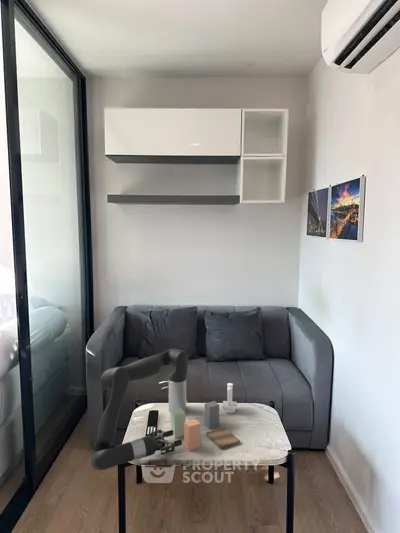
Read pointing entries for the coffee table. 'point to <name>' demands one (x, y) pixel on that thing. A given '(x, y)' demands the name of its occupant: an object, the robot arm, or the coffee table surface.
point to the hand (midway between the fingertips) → (177, 437)
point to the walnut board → (222, 438)
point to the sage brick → (177, 422)
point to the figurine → (229, 401)
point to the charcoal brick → (211, 414)
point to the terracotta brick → (192, 434)
